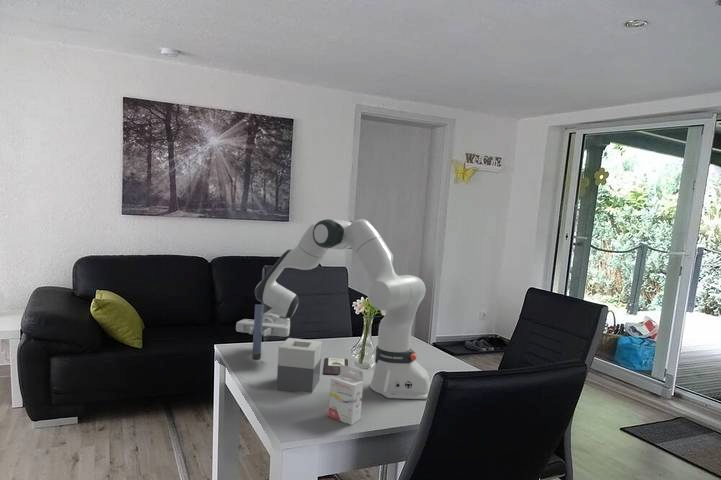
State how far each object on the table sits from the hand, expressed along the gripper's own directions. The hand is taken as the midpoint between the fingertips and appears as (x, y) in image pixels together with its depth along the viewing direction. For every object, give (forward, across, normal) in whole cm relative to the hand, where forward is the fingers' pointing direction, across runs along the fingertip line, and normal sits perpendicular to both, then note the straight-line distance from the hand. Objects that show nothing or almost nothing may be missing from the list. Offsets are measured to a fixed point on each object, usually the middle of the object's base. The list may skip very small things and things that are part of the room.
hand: (257, 332), depth 178 cm
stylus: (-1, 0, +10) cm, 10 cm away
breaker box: (+11, +19, +13) cm, 26 cm away
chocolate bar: (-11, +28, +14) cm, 33 cm away
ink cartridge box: (+33, +38, +13) cm, 52 cm away
